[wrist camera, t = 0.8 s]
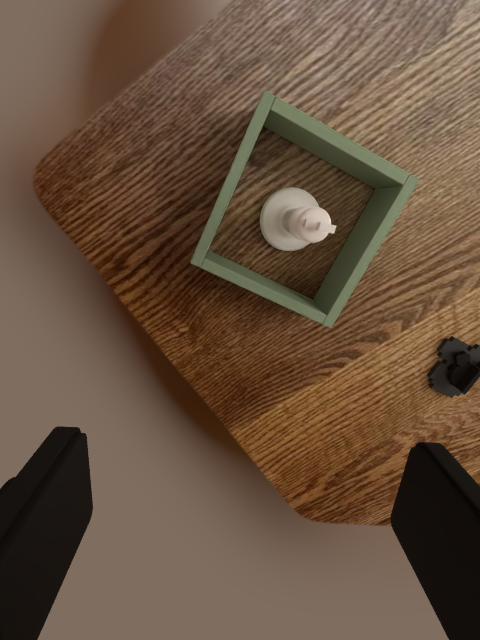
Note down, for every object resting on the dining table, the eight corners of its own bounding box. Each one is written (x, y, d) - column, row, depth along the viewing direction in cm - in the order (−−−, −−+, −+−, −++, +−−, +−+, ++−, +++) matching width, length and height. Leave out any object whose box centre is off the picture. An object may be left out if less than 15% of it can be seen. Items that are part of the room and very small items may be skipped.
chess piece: (310, 256, 28) (352, 282, 18) (253, 243, 27) (266, 263, 18) (327, 195, 26) (384, 188, 17) (267, 180, 26) (290, 165, 16)
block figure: (428, 391, 30) (468, 340, 28) (414, 378, 32) (451, 330, 30) (479, 416, 31) (520, 368, 29) (462, 402, 33) (500, 356, 31)
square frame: (258, 109, 24) (264, 88, 20) (388, 184, 26) (420, 179, 22) (195, 254, 27) (189, 263, 23) (316, 310, 29) (330, 328, 25)
